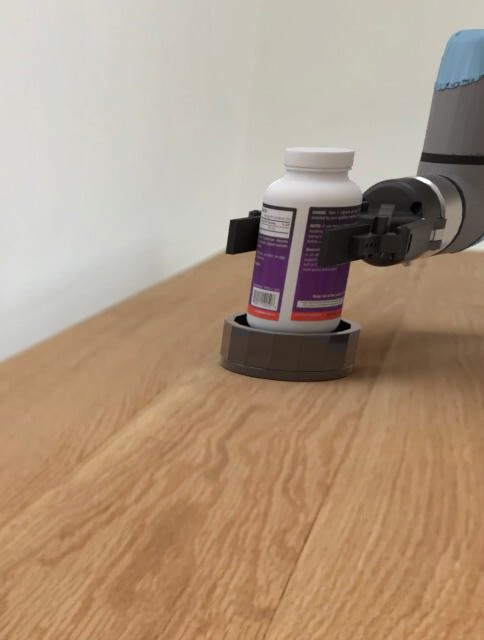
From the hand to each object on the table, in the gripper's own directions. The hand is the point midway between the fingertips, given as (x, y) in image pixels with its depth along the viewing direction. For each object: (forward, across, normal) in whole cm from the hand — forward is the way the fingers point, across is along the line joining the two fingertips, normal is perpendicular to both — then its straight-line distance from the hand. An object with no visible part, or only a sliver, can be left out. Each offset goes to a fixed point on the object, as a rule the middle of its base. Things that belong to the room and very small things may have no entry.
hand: (276, 242), depth 92 cm
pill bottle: (-5, 0, -8) cm, 9 cm away
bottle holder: (-5, 0, -11) cm, 12 cm away
